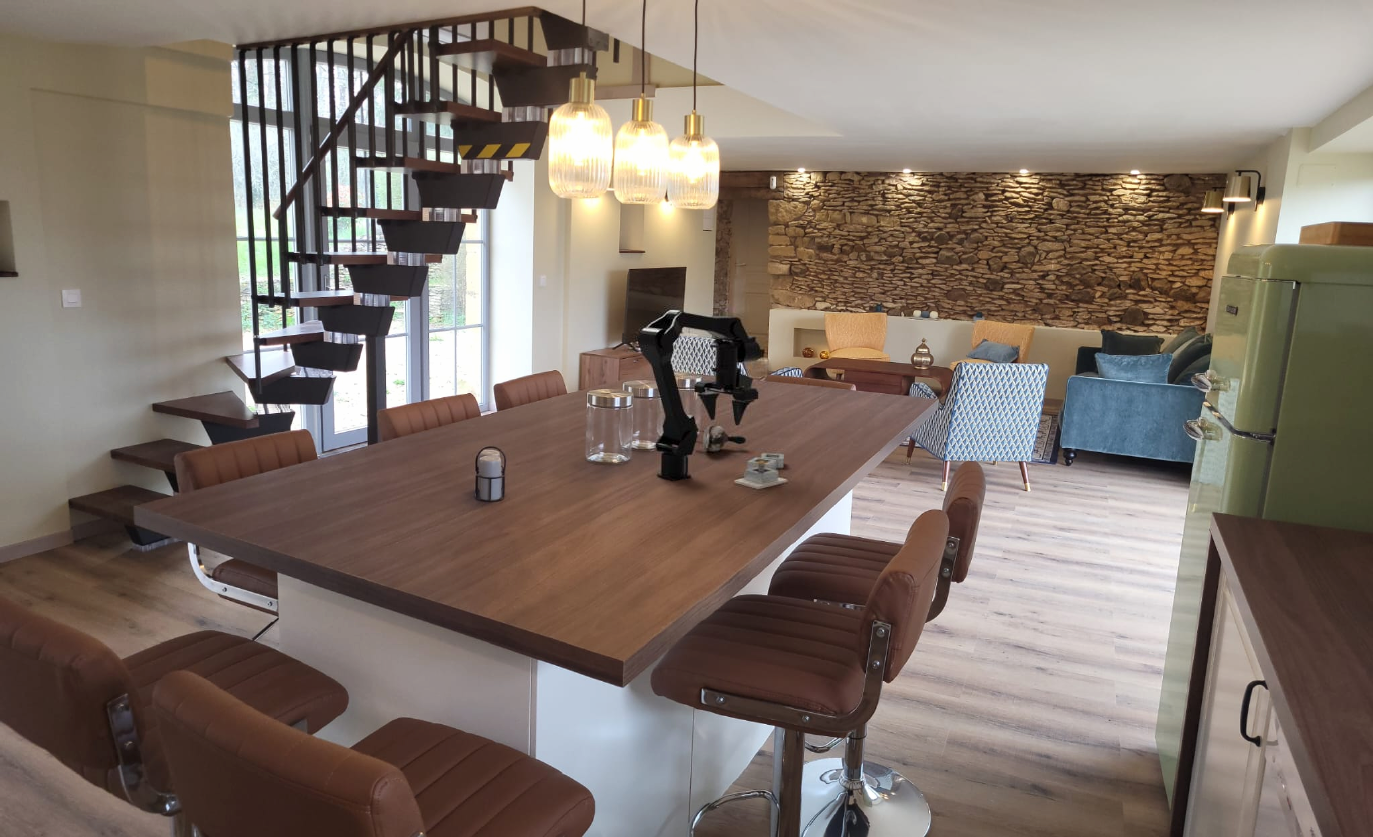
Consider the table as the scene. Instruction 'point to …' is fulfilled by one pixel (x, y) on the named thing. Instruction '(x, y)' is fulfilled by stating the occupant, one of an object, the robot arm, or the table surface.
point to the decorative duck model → (718, 438)
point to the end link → (761, 475)
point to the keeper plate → (756, 485)
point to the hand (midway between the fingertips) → (724, 422)
